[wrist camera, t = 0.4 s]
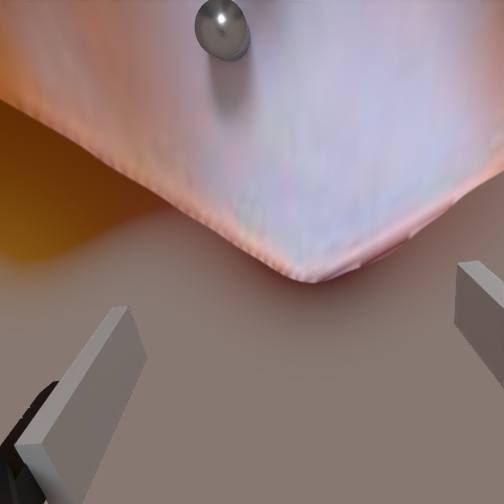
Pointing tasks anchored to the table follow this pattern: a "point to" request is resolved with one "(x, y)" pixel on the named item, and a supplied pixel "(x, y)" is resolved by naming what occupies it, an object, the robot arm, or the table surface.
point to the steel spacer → (222, 30)
